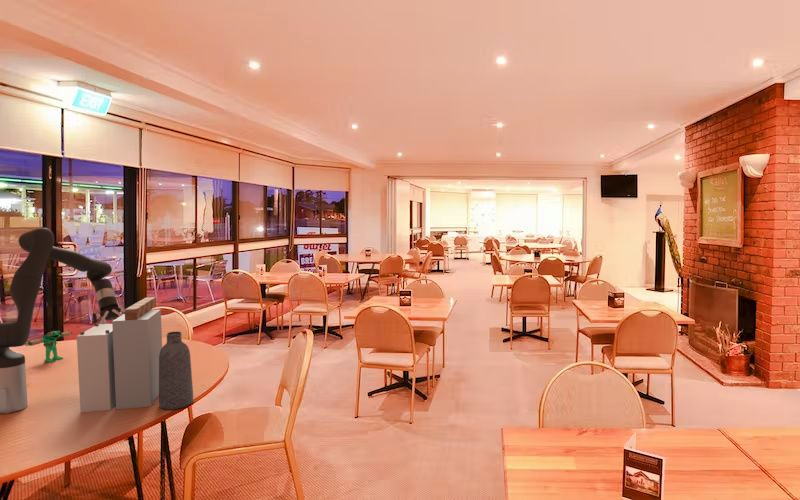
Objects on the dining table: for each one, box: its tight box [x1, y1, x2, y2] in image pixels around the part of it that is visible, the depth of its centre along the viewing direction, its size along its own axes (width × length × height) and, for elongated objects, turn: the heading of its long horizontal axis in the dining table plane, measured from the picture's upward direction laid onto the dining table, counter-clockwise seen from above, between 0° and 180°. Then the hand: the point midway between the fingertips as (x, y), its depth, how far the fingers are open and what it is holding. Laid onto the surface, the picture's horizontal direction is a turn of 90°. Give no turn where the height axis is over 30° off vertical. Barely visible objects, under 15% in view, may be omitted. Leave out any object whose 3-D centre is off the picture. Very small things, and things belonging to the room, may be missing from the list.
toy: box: [24, 330, 73, 363], centre depth 240 cm, size 26×6×15 cm, turn 168°
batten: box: [124, 296, 157, 320], centre depth 192 cm, size 28×4×4 cm, turn 14°
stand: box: [76, 309, 163, 413], centre depth 187 cm, size 20×24×34 cm
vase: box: [158, 331, 194, 411], centre depth 183 cm, size 12×12×28 cm
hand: (115, 330), depth 213 cm, fingers open, 8 cm apart
